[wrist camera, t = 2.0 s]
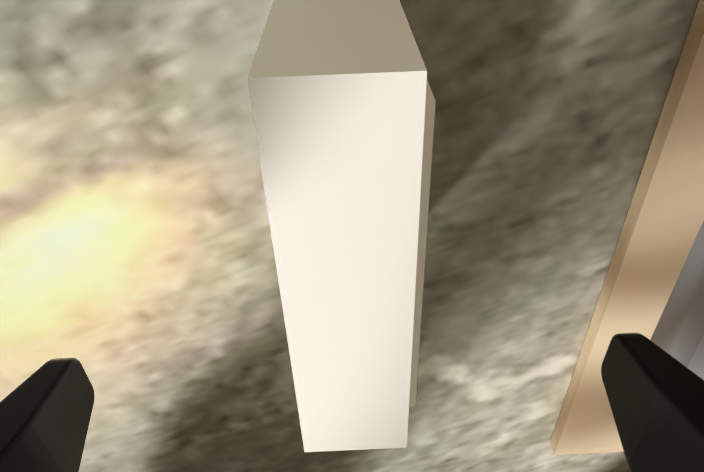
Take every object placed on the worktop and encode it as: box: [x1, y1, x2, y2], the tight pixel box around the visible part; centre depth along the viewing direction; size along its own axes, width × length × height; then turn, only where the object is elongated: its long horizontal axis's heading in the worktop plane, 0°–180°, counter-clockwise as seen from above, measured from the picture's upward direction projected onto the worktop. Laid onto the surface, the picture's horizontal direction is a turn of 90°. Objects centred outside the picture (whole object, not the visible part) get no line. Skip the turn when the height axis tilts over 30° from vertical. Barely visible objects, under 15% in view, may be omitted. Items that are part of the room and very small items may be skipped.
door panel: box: [248, 0, 436, 452], centre depth 13 cm, size 9×3×7 cm, turn 2°
